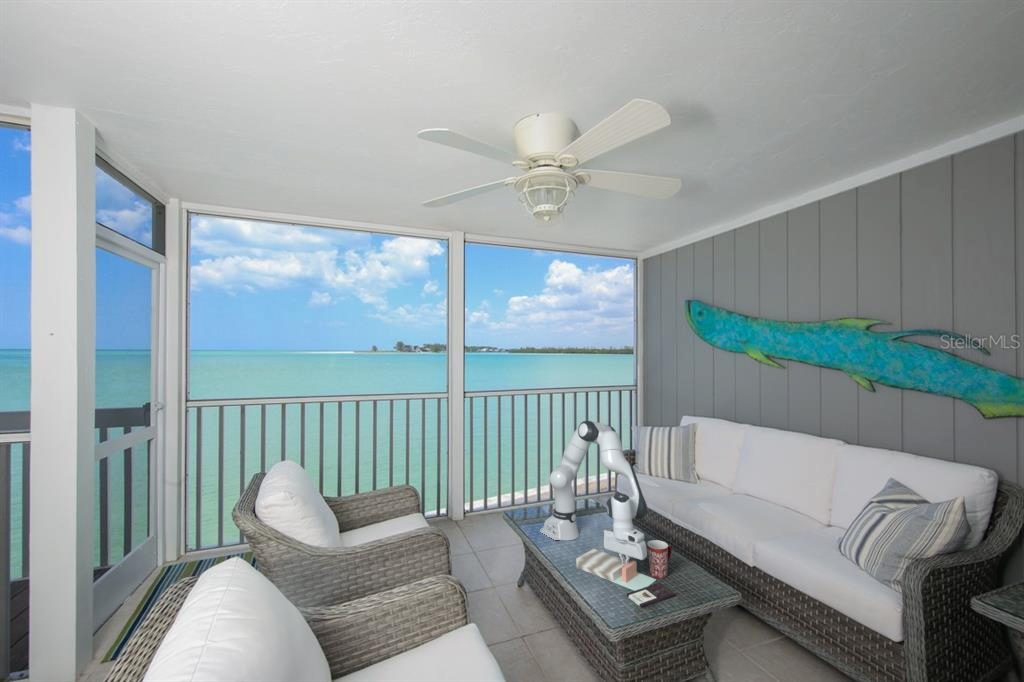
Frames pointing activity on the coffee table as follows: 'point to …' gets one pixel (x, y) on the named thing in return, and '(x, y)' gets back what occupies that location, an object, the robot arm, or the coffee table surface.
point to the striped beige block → (601, 564)
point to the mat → (636, 582)
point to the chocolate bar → (651, 595)
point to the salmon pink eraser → (629, 571)
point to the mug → (658, 557)
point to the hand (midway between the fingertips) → (625, 563)
